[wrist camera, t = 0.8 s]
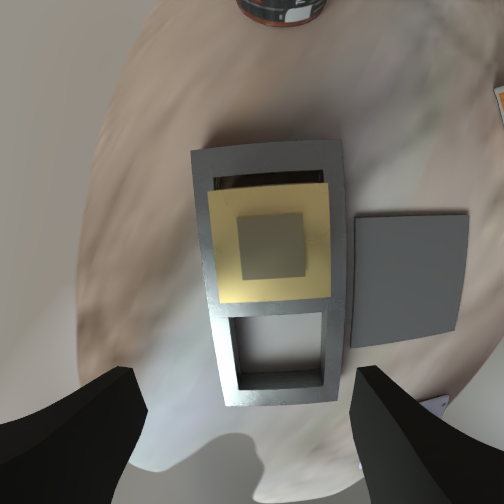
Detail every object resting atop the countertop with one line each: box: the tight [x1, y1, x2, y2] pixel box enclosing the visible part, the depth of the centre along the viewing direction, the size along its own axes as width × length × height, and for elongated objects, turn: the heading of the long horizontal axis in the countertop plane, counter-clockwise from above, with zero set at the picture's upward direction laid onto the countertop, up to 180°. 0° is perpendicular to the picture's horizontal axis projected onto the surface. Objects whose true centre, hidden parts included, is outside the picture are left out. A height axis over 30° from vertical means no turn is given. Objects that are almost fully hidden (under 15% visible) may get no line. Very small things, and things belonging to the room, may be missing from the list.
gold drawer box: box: [207, 182, 331, 303], centre depth 14 cm, size 4×4×7 cm
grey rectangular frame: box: [191, 139, 346, 406], centre depth 17 cm, size 17×8×2 cm, turn 5°
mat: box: [350, 214, 469, 348], centre depth 17 cm, size 9×9×1 cm
